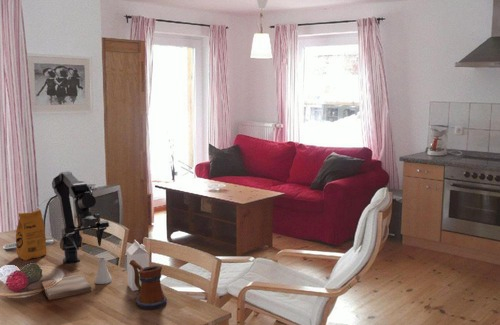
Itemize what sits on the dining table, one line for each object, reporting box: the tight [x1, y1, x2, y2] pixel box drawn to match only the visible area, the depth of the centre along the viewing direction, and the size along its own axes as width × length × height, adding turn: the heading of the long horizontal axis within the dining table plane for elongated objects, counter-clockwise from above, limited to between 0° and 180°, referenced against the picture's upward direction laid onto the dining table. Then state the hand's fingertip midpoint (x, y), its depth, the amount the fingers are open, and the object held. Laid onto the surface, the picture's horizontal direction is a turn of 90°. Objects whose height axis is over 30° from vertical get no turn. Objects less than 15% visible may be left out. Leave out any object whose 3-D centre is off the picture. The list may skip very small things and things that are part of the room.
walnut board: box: [44, 273, 92, 301], centre depth 213 cm, size 16×16×2 cm
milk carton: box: [126, 239, 150, 292], centre depth 213 cm, size 7×7×19 cm
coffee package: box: [15, 209, 47, 261], centre depth 250 cm, size 10×12×22 cm
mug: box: [129, 260, 168, 310], centre depth 200 cm, size 18×12×15 cm, turn 47°
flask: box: [94, 257, 113, 285], centre depth 220 cm, size 7×7×10 cm
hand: (88, 247), depth 222 cm, fingers open, 9 cm apart
